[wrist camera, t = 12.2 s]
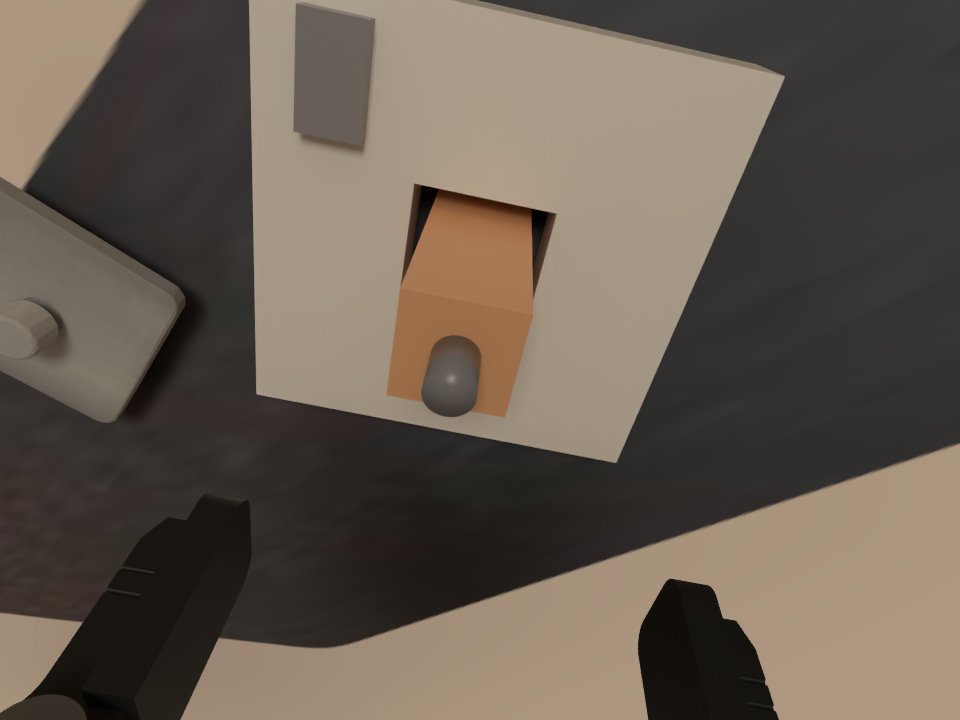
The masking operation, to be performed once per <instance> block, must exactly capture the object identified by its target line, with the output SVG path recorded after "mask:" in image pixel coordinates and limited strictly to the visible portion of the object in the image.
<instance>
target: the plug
mask: <svg viewBox="0 0 960 720" xmlns="http://www.w3.org/2000/svg"><path fill="white" fill-rule="evenodd" d="M532 318H533V270H532V214H531V208H528V207H523V206H518V205H514V204H509V203H504V202H499V201H495V200H490V199H485V198H481V197H476V196H471V195H466V194H462V193H457V192H452V191H448V190H443V189H439V191H438V194H437V196H436V199H435V201H434V204H433V206H432V209H431V211H430V214H429V216H428V219H427V221H426V224H425V227H424V229H423V232H422V234H421V237H420V239H419V242H418V244H417V247H416V249H415V252H414V255H413V257H412V260H411V262H410V265H409V267H408V270H407V272H406V275H405V277H404V280H403V282H402V285H401V288H400V294H399V301H398V309H397V317H396V325H395V332H394V340H393V348H392V356H391V363H390V371H389V379H388V387H387V394H386V395H389V396H394V397H399V398H404V399H409V400H415V401H420V402H424V404H425V405H426V407H427V408H428V409H429V410H431V411H432V412H434V413H435V414H438V415H440V416H444V417H458V416H462V415H464V414H466V413H468V412H469V411H472V412H478V413H483V414H488V415H493V416H498V417H504V418H505V416H506V412H507V409H508V405H509V402H510V398H511V394H512V391H513V387H514V383H515V380H516V376H517V372H518V369H519V365H520V362H521V358H522V354H523V351H524V347H525V343H526V340H527V336H528V332H529V329H530V325H531V322H532Z"/></svg>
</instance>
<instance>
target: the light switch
mask: <svg viewBox="0 0 960 720" xmlns="http://www.w3.org/2000/svg"><path fill="white" fill-rule="evenodd" d="M184 307H185V296H184V295H183V293H182V292H181V290H180V289H179V287H178V286H176V285H175V284H173V283H171V282H170V281H168V280H166V279H165V278H163V277H162V276H160V275H158V274H157V273H155V272H154V271H152V270H150V269H149V268H147V267H145V266H144V265H142V264H141V263H139V262H137V261H136V260H134V259H132V258H131V257H129V256H128V255H126V254H124V253H123V252H121V251H119V250H118V249H116V248H115V247H113V246H111V245H110V244H108V243H106V242H105V241H103V240H102V239H100V238H98V237H97V236H95V235H94V234H92V233H90V232H89V231H87V230H85V229H84V228H82V227H81V226H79V225H77V224H76V223H74V222H72V221H71V220H69V219H68V218H66V217H64V216H63V215H61V214H59V213H58V212H56V211H55V210H53V209H51V208H50V207H48V206H47V205H45V204H43V203H42V202H40V201H38V200H37V199H35V198H34V197H32V196H30V195H29V194H27V193H25V192H24V191H22V190H21V189H19V188H17V187H15V186H14V185H12V184H11V183H9V182H8V181H6V180H4V179H3V178H1V177H0V371H2V372H4V373H6V374H8V375H10V376H11V377H13V378H15V379H17V380H19V381H21V382H23V383H25V384H27V385H29V386H31V387H33V388H35V389H37V390H38V391H40V392H42V393H44V394H46V395H48V396H50V397H52V398H54V399H56V400H58V401H60V402H62V403H63V404H65V405H67V406H69V407H71V408H73V409H75V410H77V411H79V412H81V413H83V414H85V415H87V416H89V417H90V418H92V419H94V420H96V421H99V422H103V423H110V422H114V421H115V420H116V419H117V418H118V417H119V416H120V415H121V414H123V412H124V410H125V409H126V407H127V405H128V404H129V402H130V400H131V398H132V397H133V395H134V393H135V392H136V390H137V388H138V387H139V385H140V383H141V381H142V380H143V378H144V376H145V374H146V373H147V371H148V369H149V368H150V366H151V364H152V362H153V361H154V359H155V357H156V355H157V354H158V352H159V350H160V348H161V347H162V345H163V343H164V341H165V340H166V338H167V336H168V334H169V333H170V331H171V329H172V327H173V325H174V324H175V322H176V320H177V319H178V317H179V315H180V314H181V312H182V310H183V308H184Z"/></svg>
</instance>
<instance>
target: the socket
mask: <svg viewBox="0 0 960 720" xmlns="http://www.w3.org/2000/svg"><path fill="white" fill-rule="evenodd" d="M249 17H250V70H251V124H252V177H253V231H254V284H255V338H256V391H257V394H258V395H263V396H268V397H274V398H279V399H284V400H289V401H295V402H300V403H305V404H310V405H316V406H321V407H326V408H331V409H337V410H342V411H347V412H352V413H357V414H363V415H368V416H373V417H378V418H384V419H389V420H394V421H399V422H405V423H410V424H415V425H420V426H426V427H431V428H436V429H441V430H447V431H452V432H457V433H462V434H467V435H473V436H478V437H483V438H488V439H494V440H499V441H504V442H509V443H515V444H520V445H525V446H530V447H536V448H541V449H546V450H551V451H557V452H562V453H567V454H572V455H578V456H583V457H588V458H593V459H598V460H604V461H609V462H614V463H616V462H617V460H618V457H619V455H620V453H621V451H622V448H623V446H624V444H625V441H626V439H627V437H628V435H629V432H630V430H631V428H632V425H633V423H634V421H635V419H636V416H637V414H638V412H639V409H640V407H641V405H642V403H643V400H644V398H645V396H646V393H647V391H648V389H649V387H650V384H651V382H652V380H653V377H654V375H655V373H656V371H657V368H658V366H659V364H660V361H661V359H662V357H663V355H664V352H665V350H666V348H667V345H668V343H669V341H670V339H671V336H672V334H673V332H674V329H675V327H676V325H677V323H678V320H679V318H680V316H681V313H682V311H683V309H684V307H685V304H686V302H687V300H688V297H689V295H690V293H691V291H692V288H693V286H694V284H695V281H696V279H697V277H698V275H699V272H700V270H701V268H702V265H703V263H704V261H705V259H706V256H707V254H708V252H709V249H710V247H711V245H712V243H713V240H714V238H715V236H716V233H717V231H718V229H719V227H720V224H721V222H722V220H723V217H724V215H725V213H726V211H727V208H728V206H729V204H730V201H731V199H732V197H733V195H734V192H735V190H736V188H737V185H738V183H739V181H740V179H741V176H742V174H743V172H744V169H745V167H746V165H747V163H748V160H749V158H750V156H751V153H752V151H753V149H754V147H755V144H756V142H757V140H758V137H759V135H760V133H761V131H762V128H763V126H764V124H765V121H766V119H767V117H768V115H769V112H770V110H771V108H772V105H773V103H774V101H775V99H776V96H777V94H778V92H779V89H780V87H781V85H782V83H783V80H784V78H785V76H782V75H780V74H778V73H775V72H773V71H771V70H768V69H766V68H764V67H761V66H759V65H757V64H753V63H748V62H744V61H740V60H735V59H731V58H727V57H722V56H718V55H714V54H709V53H705V52H700V51H696V50H692V49H687V48H683V47H679V46H674V45H670V44H666V43H661V42H657V41H653V40H648V39H644V38H639V37H635V36H631V35H626V34H622V33H618V32H613V31H609V30H605V29H600V28H596V27H591V26H587V25H583V24H578V23H574V22H570V21H565V20H561V19H557V18H552V17H548V16H544V15H539V14H535V13H530V12H526V11H522V10H517V9H513V8H509V7H504V6H500V5H496V4H491V3H487V2H483V1H478V0H249ZM422 185H424V186H429V187H433V188H438V189H443V190H448V191H452V192H457V193H462V194H466V195H471V196H476V197H481V198H485V199H490V200H495V201H499V202H504V203H509V204H514V205H518V206H523V207H528V208H532V209H537V210H542V211H547V212H548V214H547V218H546V221H545V225H544V229H543V233H542V236H541V240H540V244H539V248H538V251H537V255H536V259H535V263H534V267H533V318H532V322H531V325H530V329H529V332H528V336H527V340H526V343H525V347H524V351H523V354H522V358H521V362H520V365H519V369H518V372H517V376H516V380H515V383H514V387H513V391H512V394H511V398H510V402H509V405H508V409H507V412H506V416H505V418H504V417H498V416H493V415H488V414H483V413H478V412H472V411H469V412H468V413H466V414H464V415H462V416H458V417H444V416H440V415H438V414H435V413H434V412H432V411H431V410H429V409H428V408H427V407H426V405H425V404H424V402H420V401H415V400H409V399H404V398H399V397H394V396H389V395H386V394H387V387H388V379H389V371H390V363H391V356H392V348H393V340H394V332H395V325H396V317H397V309H398V301H399V294H400V288H401V285H402V282H403V280H404V277H405V275H406V272H407V270H408V267H409V265H410V262H411V260H412V253H413V246H414V239H415V232H416V224H417V217H418V210H419V203H420V196H421V189H422Z"/></svg>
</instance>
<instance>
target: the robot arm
mask: <svg viewBox="0 0 960 720" xmlns="http://www.w3.org/2000/svg"><path fill="white" fill-rule="evenodd" d="M251 553H252V549H251V526H250V506H249V502H248V501H247V500H243V499H238V498H232V497H227V496H221V495H216V494H210V493H206V494H205V495H203V496H202V497H201V499H200V500H199V501H198V503H197V504H196V506H195V508H194V509H193V511H192V512H191V514H190V516H189V517H188V519H187V520H181V519H175V518H169V517H168V518H166V519H165V520H164V521H163V522H161V523H160V524H159V525H157V526H156V527H155V528H153V529H152V530H151V531H149V532H148V533H147V534H146V535H144V536H143V537H142V538H141V539H140V540H139V542H138V543H137V544H136V546H135V547H134V549H133V550H132V552H131V553H130V555H129V556H128V558H127V559H126V561H125V562H124V563H123V567H122V569H121V570H119V571H118V572H117V574H116V575H115V577H114V578H113V580H112V581H111V582H110V584H109V585H108V588H107V591H106V592H105V593H103V594H102V596H101V597H100V599H99V600H98V601H97V603H96V604H95V606H94V607H93V609H92V610H91V612H90V613H89V615H88V616H87V618H86V619H85V620H84V622H83V623H82V625H81V626H80V628H79V629H78V631H77V632H76V634H75V635H74V637H73V638H72V639H71V641H70V643H69V644H68V645H67V647H66V648H65V650H64V651H63V653H62V654H61V656H60V657H59V658H58V660H57V661H56V663H55V664H54V666H53V667H52V669H51V670H50V672H49V673H48V674H47V676H46V677H45V679H44V680H43V681H42V682H41V684H40V685H39V686H38V687H37V688H36V689H35V690H34V691H33V692H32V693H31V694H30V695H29V696H28V697H27V698H25V699H24V700H23V701H21V702H19V703H16V704H14V705H12V706H11V707H9V708H7V709H6V710H4V711H2V712H1V713H0V720H180V719H181V717H182V715H183V713H184V710H185V709H186V706H187V704H188V702H189V700H190V698H191V696H192V693H193V691H194V689H195V687H196V685H197V683H198V681H199V678H200V676H201V674H202V672H203V670H204V668H205V665H206V664H207V661H208V659H209V657H210V655H211V653H212V651H213V649H214V646H215V644H216V642H217V640H218V638H219V636H220V634H221V631H222V629H223V627H224V625H225V623H226V621H227V619H228V616H229V614H230V612H231V610H232V608H233V606H234V604H235V601H236V599H237V597H238V595H239V593H240V591H241V589H242V586H243V584H244V582H245V579H246V576H247V573H248V570H249V566H250V561H251ZM638 655H639V662H640V668H641V675H642V681H643V688H644V694H645V701H646V707H647V714H648V720H779V719H778V716H777V713H776V711H774V710H773V705H774V704H773V701H772V698H771V695H770V692H769V689H768V686H766V685H765V676H764V673H763V670H762V667H761V665H760V661H759V658H758V655H757V652H756V649H755V648H754V646H753V645H752V643H751V642H750V640H749V639H748V637H747V636H746V634H745V633H744V632H743V630H742V629H741V627H740V626H739V624H738V623H737V622H736V621H734V620H729V619H723V617H722V614H721V611H720V607H719V604H718V600H717V597H716V594H715V592H714V591H713V589H712V588H711V587H710V586H708V585H703V584H697V583H691V582H686V581H681V580H675V579H669V580H667V581H666V583H665V584H664V586H663V588H662V590H661V591H660V593H659V595H658V596H657V598H656V600H655V601H654V603H653V605H652V607H651V608H650V610H649V612H648V614H647V615H646V617H645V619H644V621H643V623H642V625H641V628H640V634H639V640H638Z"/></svg>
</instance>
